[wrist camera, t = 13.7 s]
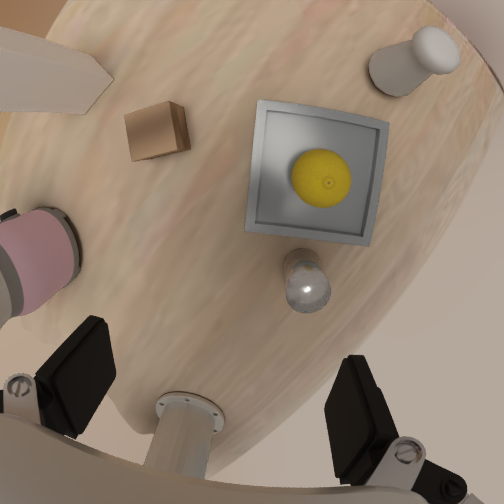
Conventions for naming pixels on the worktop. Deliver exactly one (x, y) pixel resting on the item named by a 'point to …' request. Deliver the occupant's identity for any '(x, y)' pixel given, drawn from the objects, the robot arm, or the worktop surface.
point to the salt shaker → (414, 61)
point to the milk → (47, 76)
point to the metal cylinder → (305, 281)
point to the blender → (34, 259)
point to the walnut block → (157, 131)
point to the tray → (287, 153)
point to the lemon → (321, 178)
